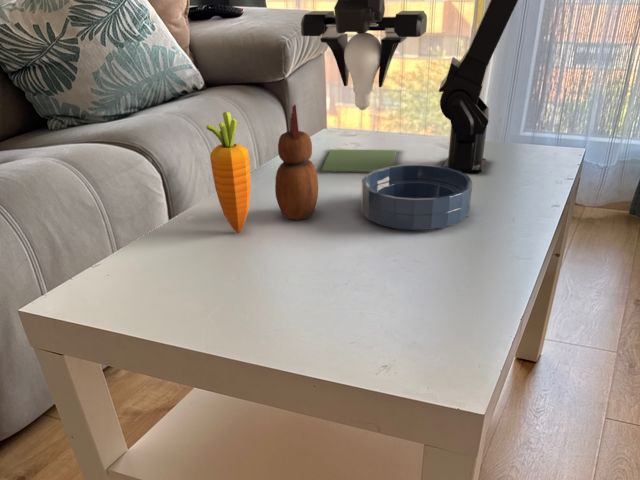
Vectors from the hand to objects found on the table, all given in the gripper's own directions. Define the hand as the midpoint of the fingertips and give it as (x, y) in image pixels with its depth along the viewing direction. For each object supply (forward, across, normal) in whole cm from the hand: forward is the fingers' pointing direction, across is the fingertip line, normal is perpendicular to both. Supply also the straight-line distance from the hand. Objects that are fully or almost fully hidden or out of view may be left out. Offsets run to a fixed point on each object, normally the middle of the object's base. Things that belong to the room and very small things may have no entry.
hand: (363, 86), depth 103 cm
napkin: (+12, -1, +1) cm, 12 cm away
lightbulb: (+4, 0, 0) cm, 4 cm away
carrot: (+12, -9, -34) cm, 37 cm away
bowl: (+12, +13, -21) cm, 28 cm away
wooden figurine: (+12, -3, -26) cm, 29 cm away
